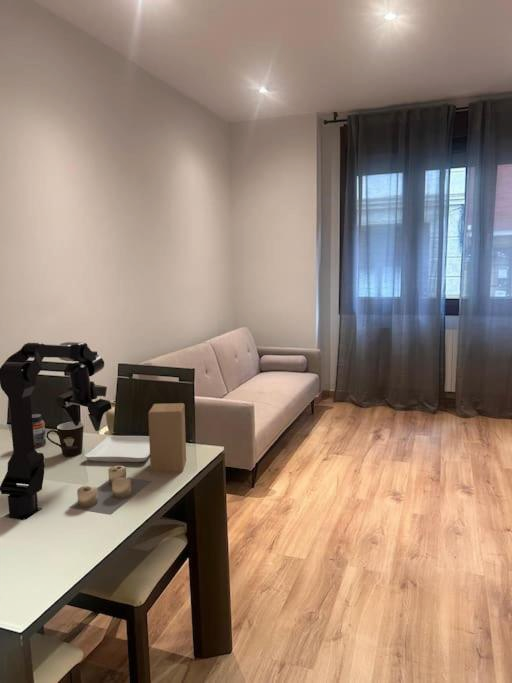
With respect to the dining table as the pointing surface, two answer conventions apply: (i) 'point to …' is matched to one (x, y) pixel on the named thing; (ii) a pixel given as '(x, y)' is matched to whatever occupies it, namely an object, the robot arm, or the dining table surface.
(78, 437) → the coffee mug
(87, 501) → the one dot puck
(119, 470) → the two dot puck
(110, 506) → the mat
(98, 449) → the salad plate
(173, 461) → the wooden block
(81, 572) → the dining table surface
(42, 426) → the supplement bottle
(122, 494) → the plain puck
